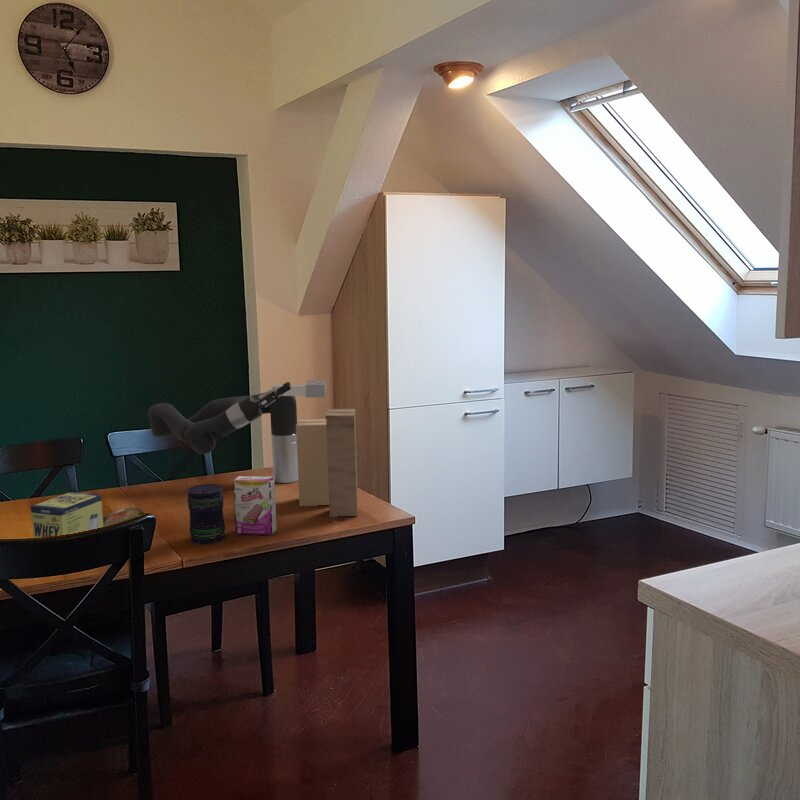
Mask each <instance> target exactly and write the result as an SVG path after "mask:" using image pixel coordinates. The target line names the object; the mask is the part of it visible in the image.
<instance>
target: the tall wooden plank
mask: <svg viewBox="0 0 800 800" xmlns="http://www.w3.org/2000/svg"><path fill="white" fill-rule="evenodd" d="M325 419H326V430H327V458H328V486H329V506H328V507H329V518H339V517H338V516H357V517H358V515H357V514H358V513H359V495H358V491H359V490H358V466H357V432H356V431H357V430H356V429H357V428H356V424H357V423H356V408H328V409H327V412H326V414H325Z"/></svg>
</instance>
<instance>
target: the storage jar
mask: <svg viewBox="0 0 800 800" xmlns="http://www.w3.org/2000/svg"><path fill="white" fill-rule="evenodd" d="M186 491H187V504H188V505H187V507H188V510H189V535H190V543H191V542H192V544H193V543H194V545H197V546H198V545H199V546H208V545H209V546H211V545H216V544H218V543H222V542H224V541H225V540H226V525H225V518H224V493H223V486H222V485H220V484H216V483H215V484H214V483H207V484H198V485H193V486H190V487H188V488H187V490H186ZM224 539H225V540H224ZM221 541H222V542H221ZM215 543H216V544H215ZM210 544H211V545H210Z"/></svg>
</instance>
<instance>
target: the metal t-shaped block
mask: <svg viewBox="0 0 800 800" xmlns="http://www.w3.org/2000/svg"><path fill="white" fill-rule="evenodd" d="M281 386H283V384H272V385H271V390H272V392H273V391H274V390H275V389H277V390H278V388H280V387H281ZM289 386H290V387H291V389H290V390H289V391H287V392H285V393H284V394H282V395H281V396H295V397H297V396H299V397H301V396H302V397H304V396H305V398H325V397H326V394H327V380H326V379H325V380H324V379H323V380H316V379H315V380H314V379H313V380H311V379H310V380H308V379H307V380H306V383H305V384H291V385H289ZM272 395H273V394H272Z"/></svg>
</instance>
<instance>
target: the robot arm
mask: <svg viewBox="0 0 800 800" xmlns="http://www.w3.org/2000/svg"><path fill="white" fill-rule="evenodd" d="M282 385H283V386H281V387H280V388H278V390H277V389H275V390H274V391H273V392H272V389H269V390H268V391H266V392H262V393H258V394H253V395H252V394H251V395H241V396H232V397H226V398H225V397H224V398H220V399H219V398H218V399H213V400H210V401H209V402H208V403H207V404H205V405H204V406H203V407H202V408H201V409H200V410H199V411H197V412H196V413H194V415H192V416H190V417H189V418H186V417H185V416H183V415H182V414H181V412H180V411H179V410H177V409H176V408H175V407H174V405H173V404H170V403H166V402H162V403H157V404H153V405H152V406H150V407H149V408H148V410H147V416H148V420H149V424H150V431H151V432H152V433H151V434H152V435H153V436H154V437H157V438H160V437H161V438H162V437H163V438H164V437H169V436H173V435H174V437H176V438H177V439H178V440H180V441H181V442H184V443H185V444H187V445H188V447H190V448H191V449H192V450H193V451H195V452H196V453H197V454H200V455H206V454H209V453H211V452H213V451H214V449H215V447H216V443H217V442H216V439H215V437H214V435H212V433H210V432H213V433H215V434H217V435H219V436H221V437H226V436H229V435H230V434H231V433H232V434H233V432H235V431H236V430H238V429H241V428H243V427H245V426H247V425H248V424H250V423H252V422H254V421H255V420H257V419H259V418H260V417H262V415H267V414H270V431H271V449H272V450H271V451H272V452H271V453H272V454H271V456H272V475H273V476H272V477H274V478H275V483H277V484H287V483H289V484H291V483H295V482H298V459H297V435H296V425H297V423H298V414H297V413H298V408H297V400H296V399H297V398H296V396H281V395H282V394H284V393H285V392H287V391H289V390H290V389H291V387H290V386H289V385H292V384H291V382H290V381H286V382H285V383H283V384H282ZM272 394H273V395H272Z"/></svg>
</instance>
